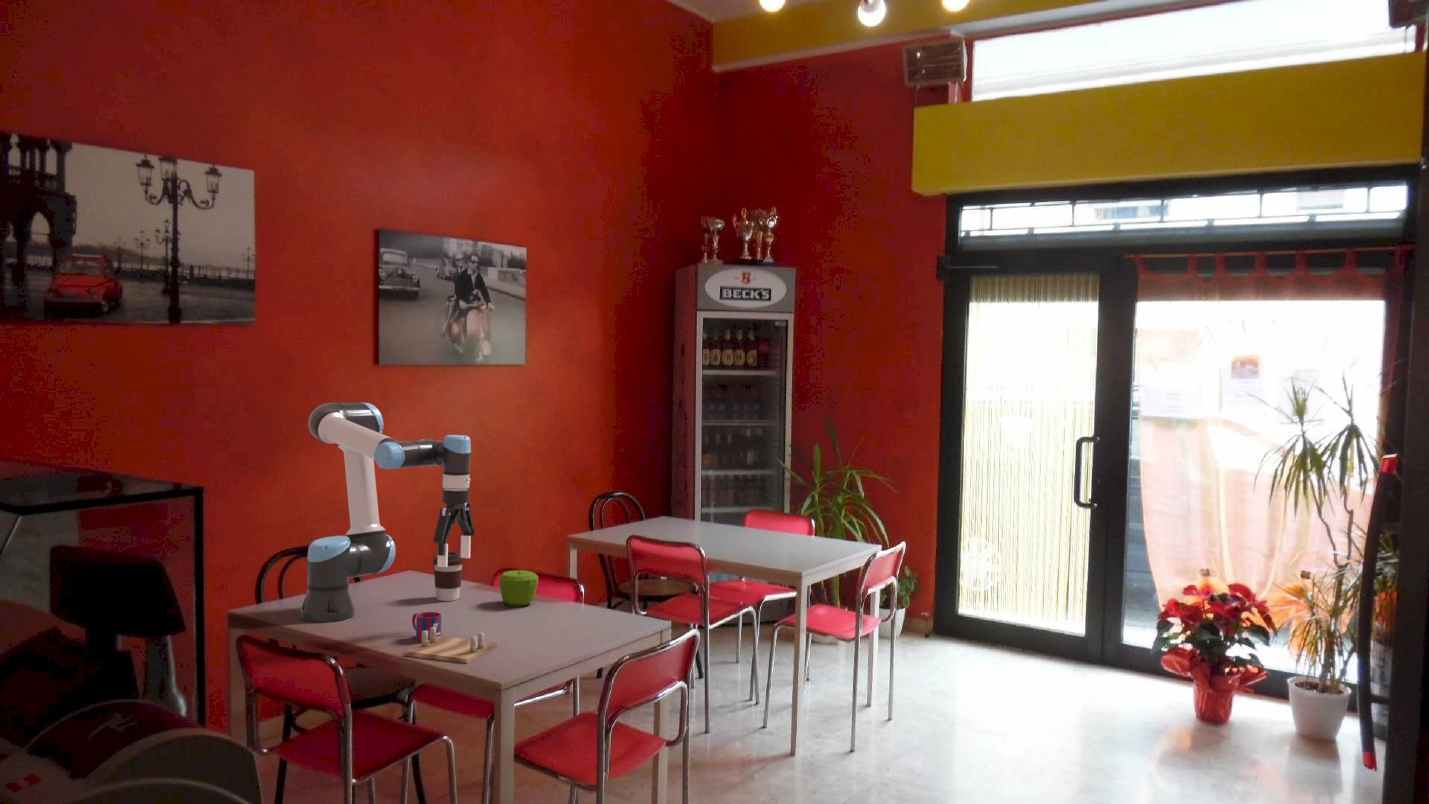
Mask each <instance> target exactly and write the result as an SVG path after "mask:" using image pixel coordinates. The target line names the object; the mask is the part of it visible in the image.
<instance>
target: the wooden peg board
mask: <svg viewBox="0 0 1429 804" xmlns="http://www.w3.org/2000/svg"><path fill="white" fill-rule="evenodd" d="M496 648H498V642H494V641H493V642H492V641H485V633H484V632H482V631H481V632H478V633H477V636H476V635H472V636H470V638H469V639H468V638H460V637H451V636H442V635H441V636H438V637H436V627H430V640H429V641H428V631H426V630H425V631H422V642H421V643H420V644H419V645H416V646H414V647H412V648H411V649H408V650H406V651H405V652H406V653H405V655H406V657H413V658H421V659H422V658H423V659H429V660H438V661H445V662H452V663H460V664H469V663H471V662H473V661H475V660H476V659H478V658H480V657H482V656H484V655H486V654H487V653H489V652H491V651H492V650H494V649H496Z"/></svg>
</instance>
